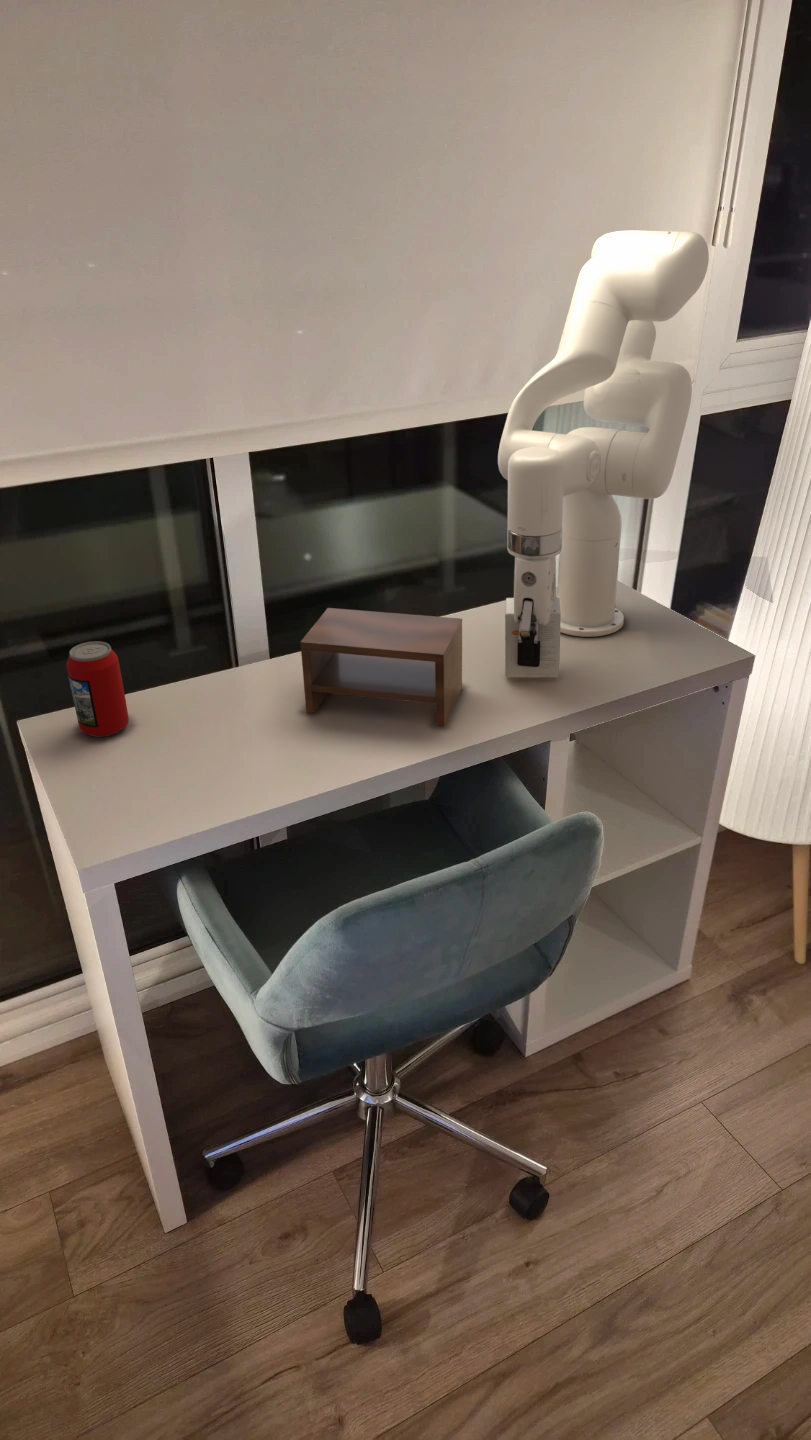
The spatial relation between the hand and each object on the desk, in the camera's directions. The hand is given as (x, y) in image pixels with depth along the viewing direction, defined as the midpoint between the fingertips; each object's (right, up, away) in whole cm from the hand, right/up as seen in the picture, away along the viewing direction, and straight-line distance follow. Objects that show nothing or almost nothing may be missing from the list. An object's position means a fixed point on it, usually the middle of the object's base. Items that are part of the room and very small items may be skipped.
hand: (532, 653), depth 153 cm
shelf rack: (-22, -7, -4) cm, 23 cm away
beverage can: (-60, -11, -9) cm, 62 cm away
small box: (0, -2, +1) cm, 3 cm away
